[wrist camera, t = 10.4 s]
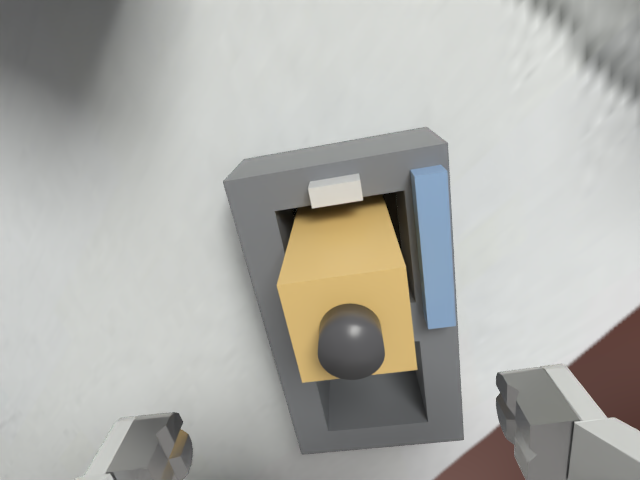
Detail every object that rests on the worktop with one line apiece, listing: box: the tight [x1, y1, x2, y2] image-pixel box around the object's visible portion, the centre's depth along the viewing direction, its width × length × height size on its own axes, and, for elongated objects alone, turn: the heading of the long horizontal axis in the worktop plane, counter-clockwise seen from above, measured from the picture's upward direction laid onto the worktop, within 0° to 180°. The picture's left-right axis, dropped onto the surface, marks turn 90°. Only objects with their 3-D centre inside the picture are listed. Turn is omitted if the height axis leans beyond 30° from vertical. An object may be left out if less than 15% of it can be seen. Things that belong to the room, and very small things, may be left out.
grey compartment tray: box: [223, 127, 464, 454], centre depth 20 cm, size 9×16×5 cm, turn 10°
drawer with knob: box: [277, 194, 417, 383], centre depth 17 cm, size 4×4×10 cm
